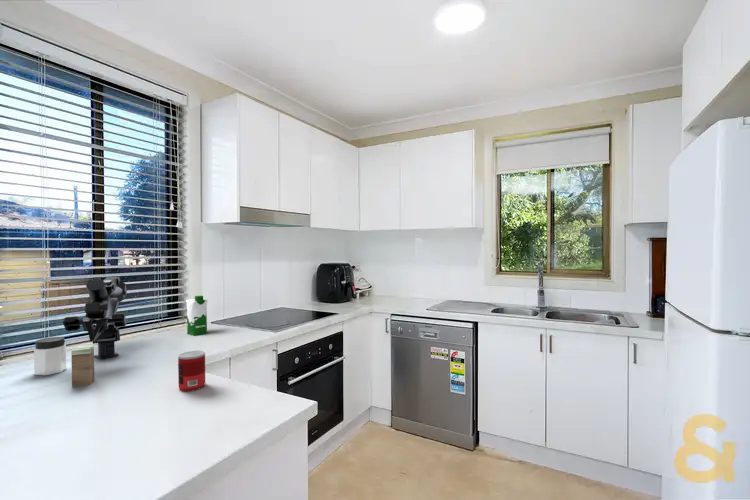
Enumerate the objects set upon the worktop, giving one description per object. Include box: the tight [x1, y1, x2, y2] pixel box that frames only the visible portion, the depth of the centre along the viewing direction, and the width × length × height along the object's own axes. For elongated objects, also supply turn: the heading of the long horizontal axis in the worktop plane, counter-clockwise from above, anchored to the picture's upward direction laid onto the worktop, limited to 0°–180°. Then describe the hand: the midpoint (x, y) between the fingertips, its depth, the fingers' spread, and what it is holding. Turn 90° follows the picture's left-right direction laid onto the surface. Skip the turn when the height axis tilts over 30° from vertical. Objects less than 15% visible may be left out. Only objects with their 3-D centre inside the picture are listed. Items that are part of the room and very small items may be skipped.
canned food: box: [177, 350, 206, 392], centre depth 122 cm, size 8×8×11 cm
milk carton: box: [185, 295, 208, 336], centre depth 196 cm, size 9×9×20 cm
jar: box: [33, 336, 67, 376], centre depth 137 cm, size 9×8×12 cm
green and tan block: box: [70, 344, 95, 388], centre depth 126 cm, size 5×5×12 cm
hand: (91, 341), depth 136 cm, fingers closed
